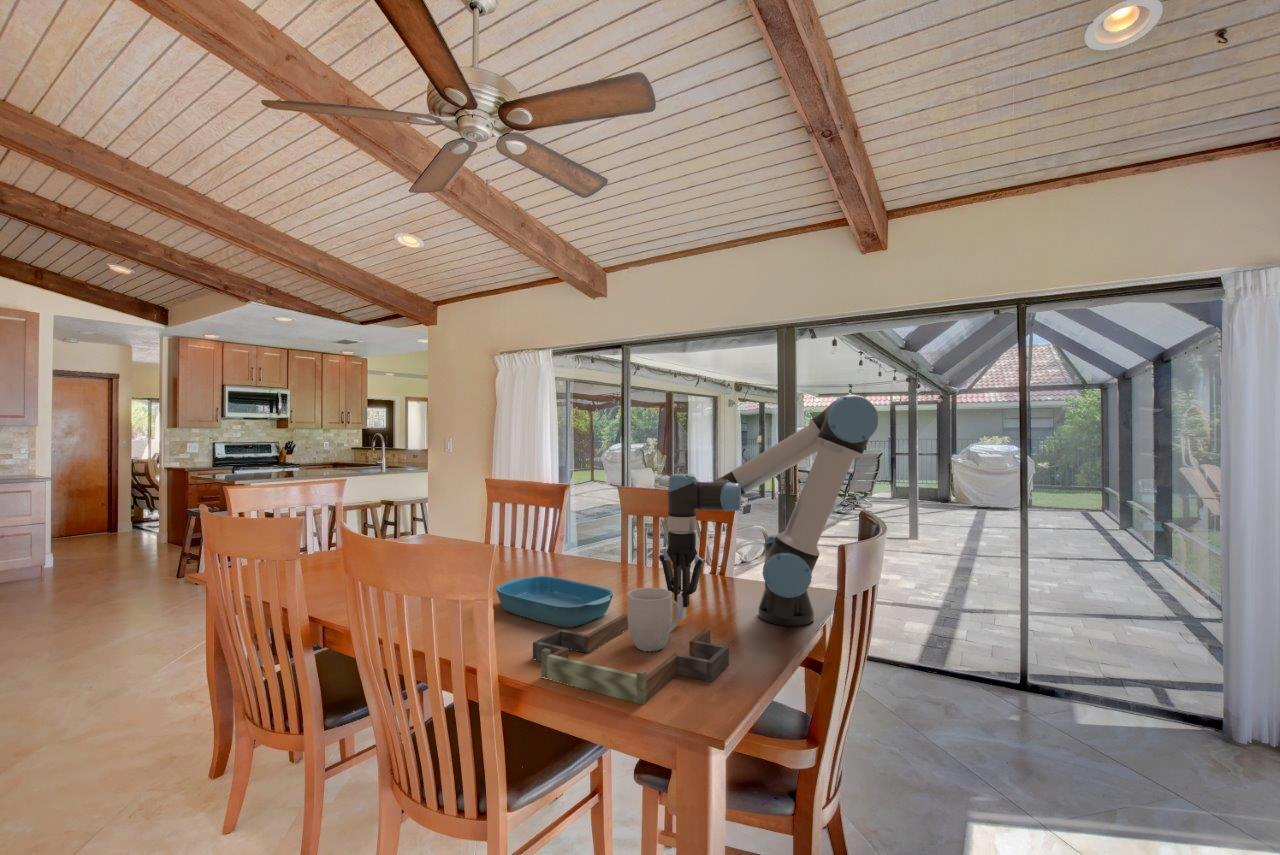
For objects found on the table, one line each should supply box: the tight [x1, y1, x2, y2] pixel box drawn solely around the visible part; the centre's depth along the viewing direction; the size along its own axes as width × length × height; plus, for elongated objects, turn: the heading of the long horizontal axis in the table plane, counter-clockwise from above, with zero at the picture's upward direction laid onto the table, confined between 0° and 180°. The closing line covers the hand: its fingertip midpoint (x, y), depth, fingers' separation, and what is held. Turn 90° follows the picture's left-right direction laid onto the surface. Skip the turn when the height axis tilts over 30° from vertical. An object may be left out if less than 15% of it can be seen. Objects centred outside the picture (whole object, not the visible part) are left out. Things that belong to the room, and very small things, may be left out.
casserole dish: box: [495, 575, 614, 628], centre depth 169 cm, size 37×22×7 cm, turn 55°
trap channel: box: [532, 613, 730, 706], centre depth 134 cm, size 40×35×6 cm
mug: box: [626, 587, 680, 653], centre depth 143 cm, size 15×11×13 cm
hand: (681, 618), depth 158 cm, fingers closed
